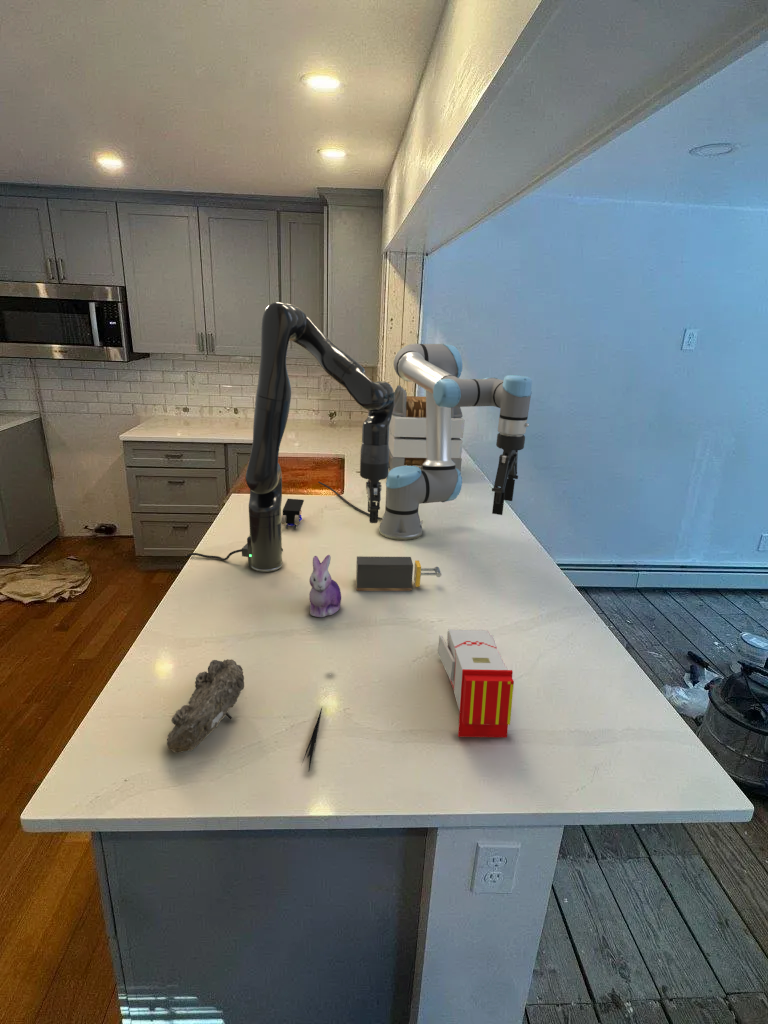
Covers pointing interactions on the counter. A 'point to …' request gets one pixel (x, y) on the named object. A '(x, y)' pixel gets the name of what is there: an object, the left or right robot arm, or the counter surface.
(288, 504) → the figurine character
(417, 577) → the drawer
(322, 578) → the figurine
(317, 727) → the feather
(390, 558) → the dark grey box
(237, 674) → the fossil
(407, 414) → the transformer
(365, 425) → the left robot arm
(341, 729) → the counter surface
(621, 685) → the counter surface
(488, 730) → the toy
